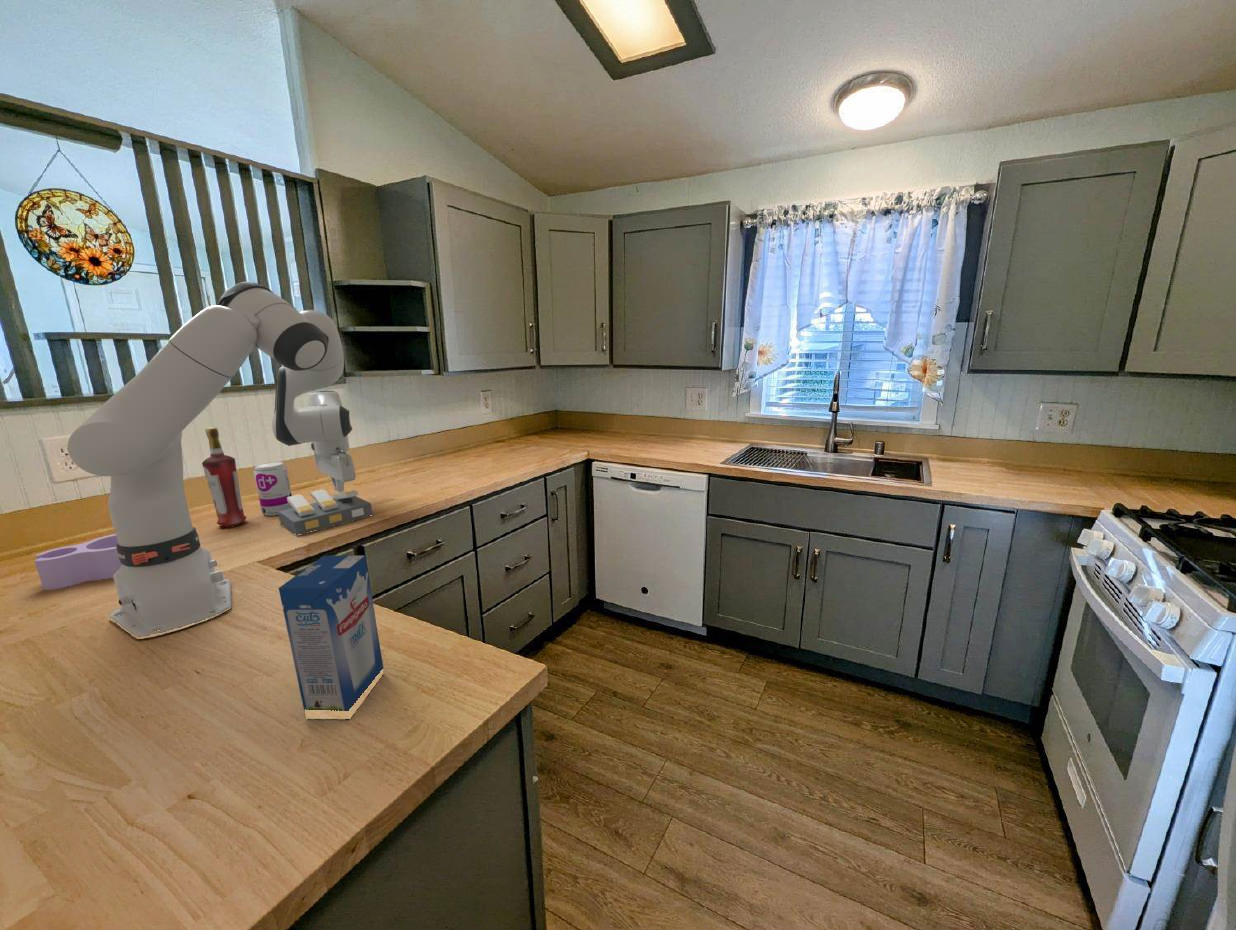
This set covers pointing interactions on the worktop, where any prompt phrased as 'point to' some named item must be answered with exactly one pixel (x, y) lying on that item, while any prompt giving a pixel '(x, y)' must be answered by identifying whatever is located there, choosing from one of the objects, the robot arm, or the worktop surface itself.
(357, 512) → the switch housing
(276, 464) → the supplement can
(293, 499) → the rocker
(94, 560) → the lavender double cup holder
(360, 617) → the milk carton
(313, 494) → the rocker
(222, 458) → the liquor
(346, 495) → the rocker
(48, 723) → the worktop surface
